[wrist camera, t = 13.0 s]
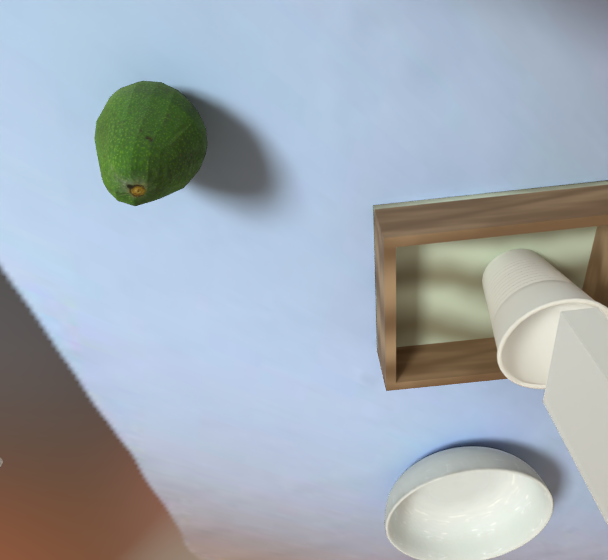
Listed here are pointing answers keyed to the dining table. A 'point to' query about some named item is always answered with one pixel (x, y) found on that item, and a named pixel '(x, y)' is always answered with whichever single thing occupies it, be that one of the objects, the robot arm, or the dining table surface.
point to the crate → (472, 272)
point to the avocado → (148, 142)
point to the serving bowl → (466, 505)
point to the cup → (528, 312)
